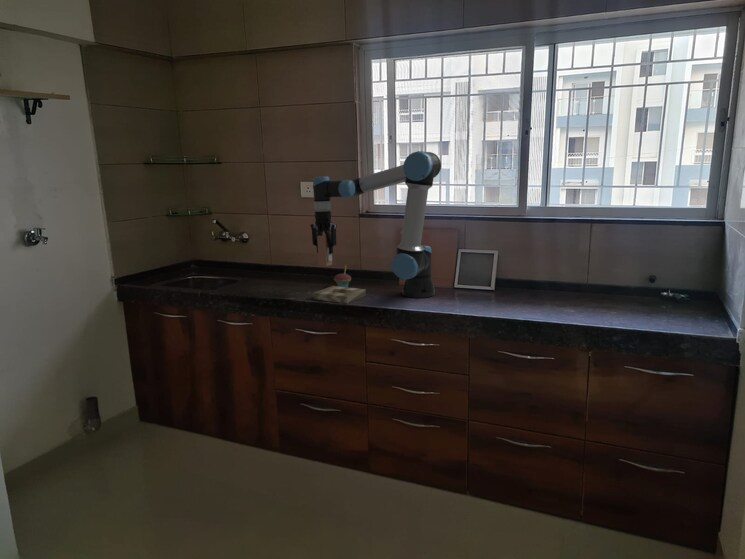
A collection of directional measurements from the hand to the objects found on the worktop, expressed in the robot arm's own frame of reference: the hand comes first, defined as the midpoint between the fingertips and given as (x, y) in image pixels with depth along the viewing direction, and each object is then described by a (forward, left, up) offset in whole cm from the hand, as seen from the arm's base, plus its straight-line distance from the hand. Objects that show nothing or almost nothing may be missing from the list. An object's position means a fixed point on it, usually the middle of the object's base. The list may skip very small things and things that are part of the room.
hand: (325, 260), depth 245 cm
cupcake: (0, -14, -16) cm, 21 cm away
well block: (-10, +4, -16) cm, 19 cm away
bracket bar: (0, 0, -2) cm, 2 cm away
